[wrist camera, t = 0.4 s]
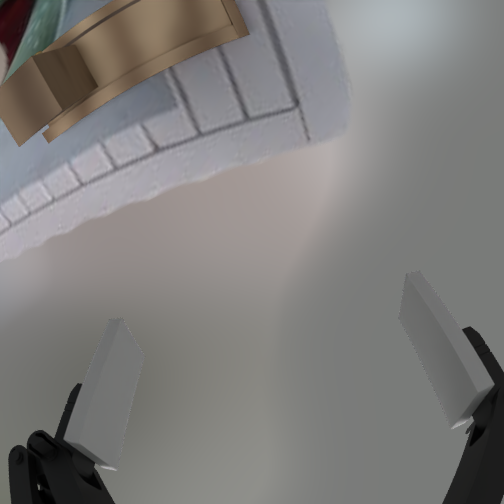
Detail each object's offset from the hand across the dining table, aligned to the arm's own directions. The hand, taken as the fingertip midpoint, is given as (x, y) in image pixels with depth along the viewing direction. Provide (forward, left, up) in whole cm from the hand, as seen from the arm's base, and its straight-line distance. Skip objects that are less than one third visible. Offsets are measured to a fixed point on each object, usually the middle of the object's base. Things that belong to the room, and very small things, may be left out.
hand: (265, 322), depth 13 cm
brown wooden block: (+1, -20, -24) cm, 32 cm away
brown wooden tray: (-4, -15, -26) cm, 30 cm away
